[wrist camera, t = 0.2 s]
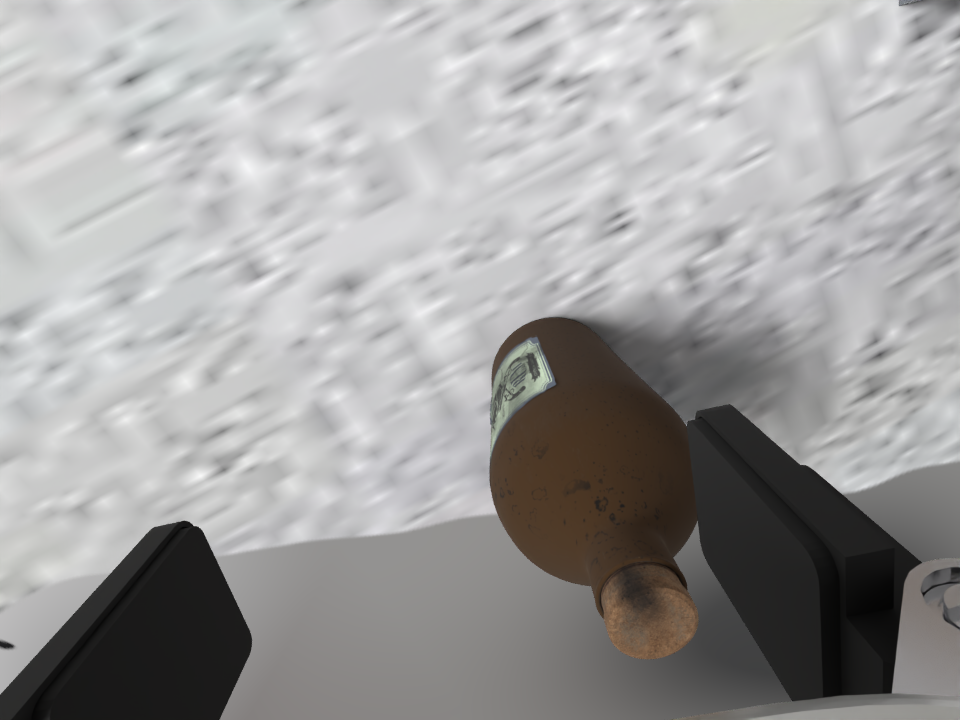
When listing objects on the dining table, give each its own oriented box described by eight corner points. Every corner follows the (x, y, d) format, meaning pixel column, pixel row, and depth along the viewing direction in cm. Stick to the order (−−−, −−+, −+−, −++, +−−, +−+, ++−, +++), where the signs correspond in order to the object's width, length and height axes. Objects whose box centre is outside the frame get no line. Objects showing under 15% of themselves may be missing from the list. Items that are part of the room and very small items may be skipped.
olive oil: (643, 341, 41) (873, 560, 18) (579, 454, 45) (703, 768, 21) (519, 285, 40) (590, 443, 16) (461, 406, 43) (450, 687, 19)
